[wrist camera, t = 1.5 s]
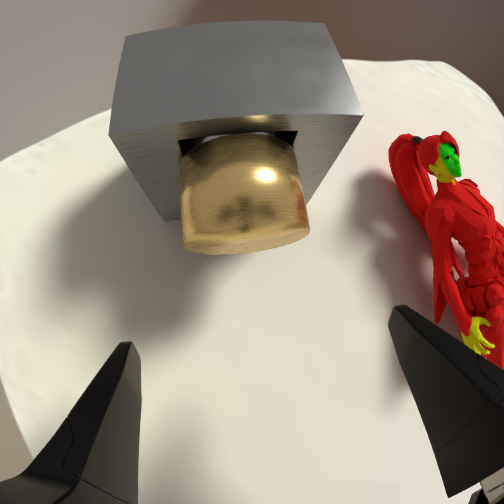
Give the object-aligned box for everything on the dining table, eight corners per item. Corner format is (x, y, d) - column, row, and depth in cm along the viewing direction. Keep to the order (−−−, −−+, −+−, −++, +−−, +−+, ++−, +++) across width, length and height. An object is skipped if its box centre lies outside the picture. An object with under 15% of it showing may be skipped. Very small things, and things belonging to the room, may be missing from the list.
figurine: (504, 457, 16) (390, 131, 15) (452, 429, 24) (333, 175, 24) (561, 371, 18) (474, 91, 17) (510, 360, 26) (419, 128, 26)
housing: (306, 205, 24) (363, 115, 12) (163, 220, 23) (108, 135, 11) (290, 130, 25) (324, 23, 14) (162, 142, 24) (125, 36, 13)
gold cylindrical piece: (296, 247, 18) (325, 214, 12) (192, 258, 17) (172, 230, 12) (275, 130, 20) (290, 68, 14) (184, 138, 19) (170, 77, 13)
